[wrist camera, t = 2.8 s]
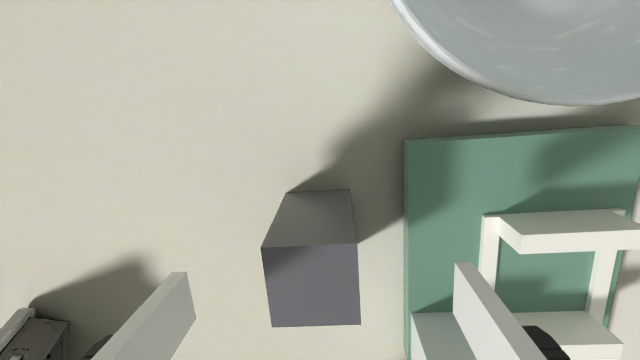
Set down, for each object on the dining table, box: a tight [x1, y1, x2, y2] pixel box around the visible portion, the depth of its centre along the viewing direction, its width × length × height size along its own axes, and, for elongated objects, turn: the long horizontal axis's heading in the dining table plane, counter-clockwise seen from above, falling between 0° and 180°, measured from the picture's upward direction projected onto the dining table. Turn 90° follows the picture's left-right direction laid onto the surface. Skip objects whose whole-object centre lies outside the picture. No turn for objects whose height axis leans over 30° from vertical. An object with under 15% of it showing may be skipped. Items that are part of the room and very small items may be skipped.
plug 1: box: [261, 189, 361, 327], centre depth 19 cm, size 5×4×8 cm
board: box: [404, 124, 640, 360], centre depth 21 cm, size 17×14×4 cm
